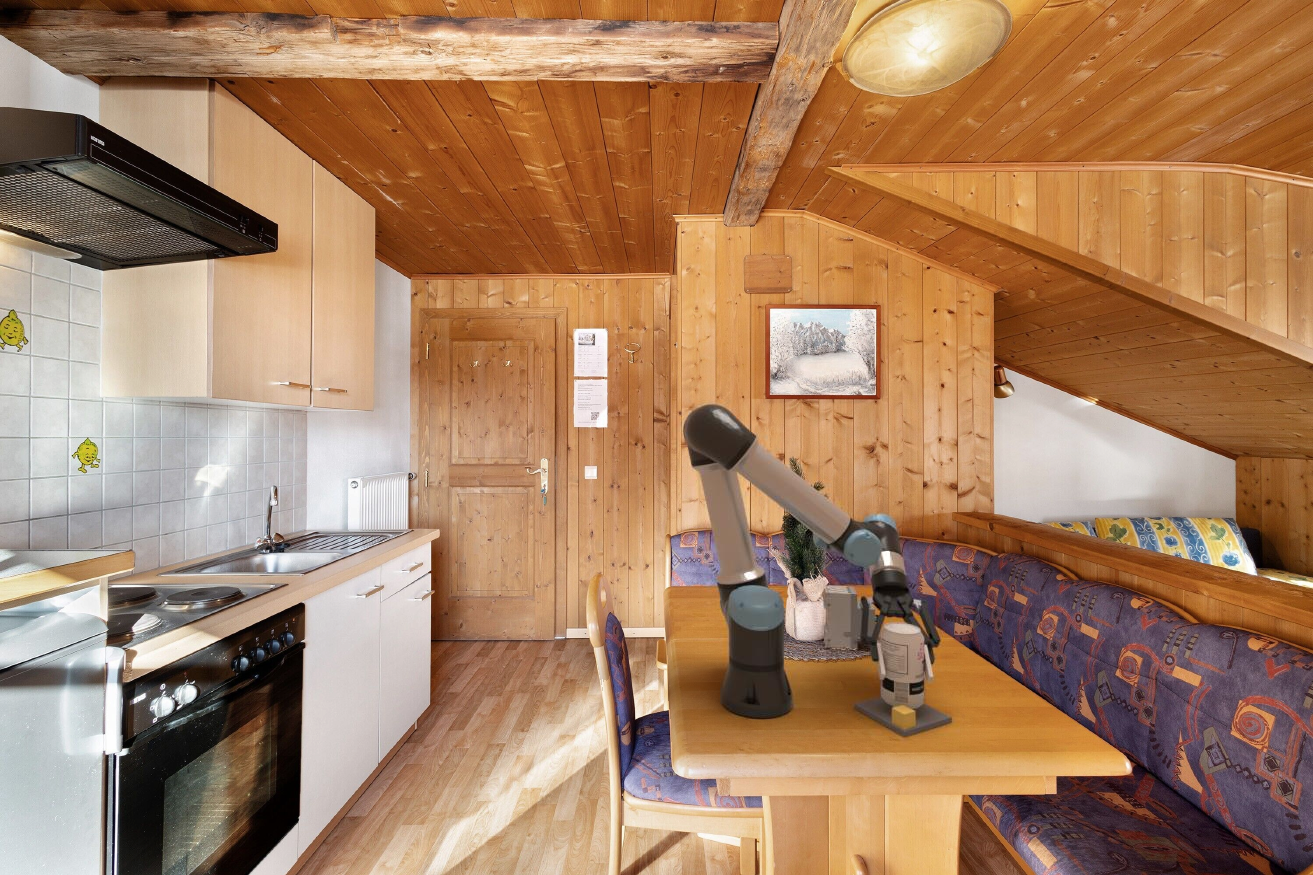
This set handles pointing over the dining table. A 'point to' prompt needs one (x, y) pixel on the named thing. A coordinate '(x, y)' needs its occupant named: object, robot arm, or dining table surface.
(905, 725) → the pad
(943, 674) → the dining table surface
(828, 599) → the circuit breaker
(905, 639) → the supplement can
